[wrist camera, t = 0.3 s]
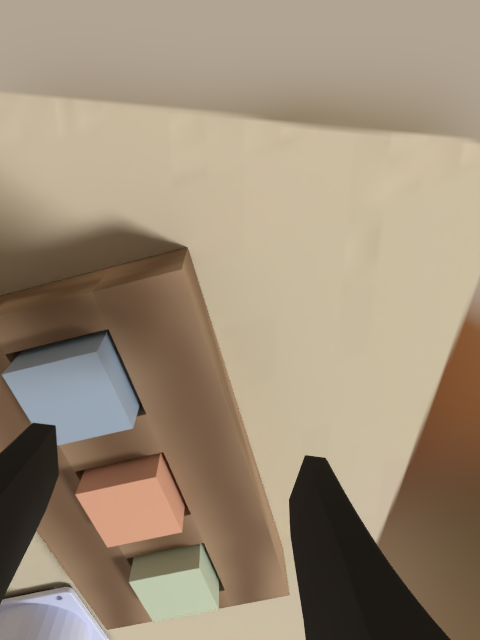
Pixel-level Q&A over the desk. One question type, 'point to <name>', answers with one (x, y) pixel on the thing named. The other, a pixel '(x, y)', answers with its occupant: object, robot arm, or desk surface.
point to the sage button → (176, 582)
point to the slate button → (75, 387)
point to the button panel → (150, 431)
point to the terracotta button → (132, 500)
